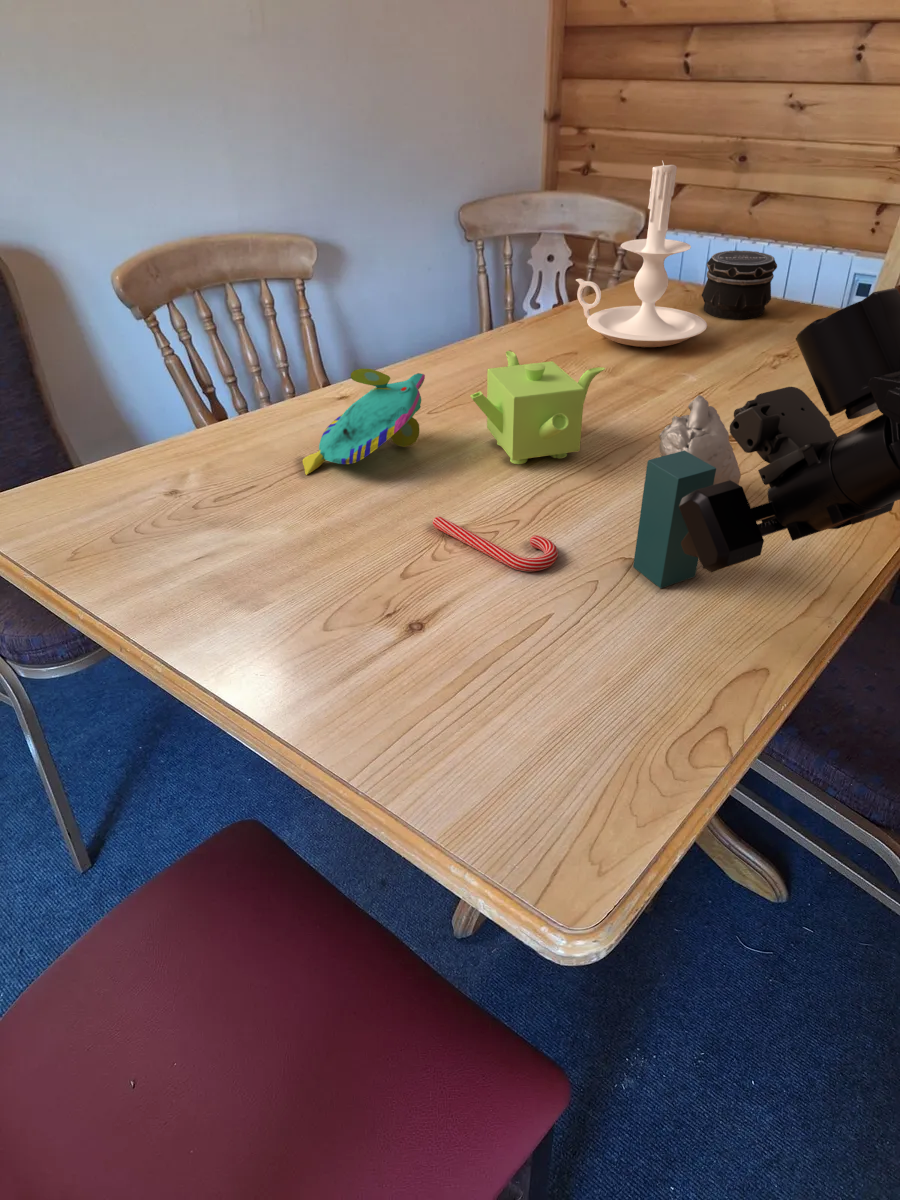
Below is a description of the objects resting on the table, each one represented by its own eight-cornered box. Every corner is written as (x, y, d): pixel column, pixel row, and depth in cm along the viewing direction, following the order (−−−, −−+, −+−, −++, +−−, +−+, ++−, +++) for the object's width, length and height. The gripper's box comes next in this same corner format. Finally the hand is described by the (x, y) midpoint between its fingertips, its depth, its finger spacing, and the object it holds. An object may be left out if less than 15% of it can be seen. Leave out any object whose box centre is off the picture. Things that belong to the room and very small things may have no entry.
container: (721, 323, 145) (732, 267, 139) (687, 305, 155) (695, 252, 149) (781, 317, 148) (794, 261, 142) (743, 299, 158) (753, 247, 152)
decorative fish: (393, 325, 101) (422, 360, 89) (438, 402, 108) (470, 443, 96) (269, 408, 102) (280, 453, 90) (322, 478, 110) (339, 528, 98)
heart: (644, 515, 87) (680, 417, 80) (639, 476, 95) (671, 383, 87) (733, 533, 87) (776, 436, 80) (720, 493, 95) (759, 401, 87)
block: (695, 576, 78) (716, 468, 71) (660, 588, 76) (678, 478, 69) (666, 556, 81) (684, 450, 74) (632, 567, 80) (647, 460, 72)
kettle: (505, 419, 111) (508, 340, 104) (600, 437, 106) (609, 355, 99) (457, 460, 100) (456, 375, 94) (560, 483, 95) (567, 394, 88)
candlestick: (600, 313, 152) (614, 149, 136) (722, 334, 140) (754, 156, 123) (544, 341, 139) (552, 163, 123) (673, 367, 127) (702, 173, 110)
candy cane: (467, 510, 90) (467, 498, 89) (569, 557, 81) (570, 545, 80) (429, 529, 87) (429, 517, 86) (531, 581, 78) (531, 568, 77)
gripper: (908, 346, 59) (769, 431, 73) (718, 391, 52) (606, 475, 67) (968, 481, 58) (814, 540, 72) (781, 544, 51) (653, 595, 66)
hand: (724, 534), depth 69 cm, fingers open, 9 cm apart
